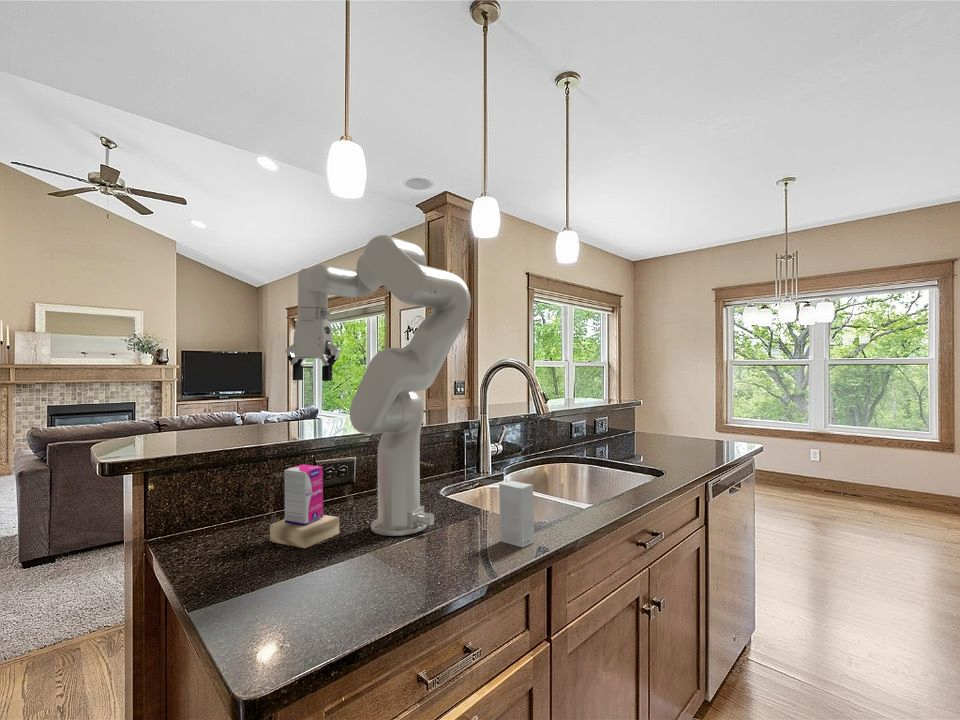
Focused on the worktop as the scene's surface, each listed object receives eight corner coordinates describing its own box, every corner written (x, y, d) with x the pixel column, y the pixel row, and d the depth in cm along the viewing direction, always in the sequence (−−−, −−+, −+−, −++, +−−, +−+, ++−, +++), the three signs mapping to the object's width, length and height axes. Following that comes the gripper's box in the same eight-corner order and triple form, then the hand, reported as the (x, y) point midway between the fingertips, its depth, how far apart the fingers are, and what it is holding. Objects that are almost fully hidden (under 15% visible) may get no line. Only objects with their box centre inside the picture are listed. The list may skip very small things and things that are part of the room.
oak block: (339, 535, 108) (339, 517, 108) (305, 550, 99) (305, 530, 99) (305, 529, 113) (305, 511, 113) (269, 543, 104) (269, 524, 104)
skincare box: (534, 542, 101) (534, 484, 101) (522, 548, 98) (521, 488, 98) (512, 536, 105) (511, 480, 105) (499, 541, 102) (498, 483, 102)
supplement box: (306, 526, 102) (304, 472, 102) (284, 523, 104) (282, 469, 104) (324, 517, 107) (323, 465, 107) (303, 514, 110) (301, 463, 109)
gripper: (348, 316, 130) (348, 380, 130) (297, 318, 136) (296, 379, 136) (329, 313, 123) (329, 381, 123) (276, 315, 129) (276, 380, 129)
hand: (312, 380), depth 130 cm, fingers open, 9 cm apart
